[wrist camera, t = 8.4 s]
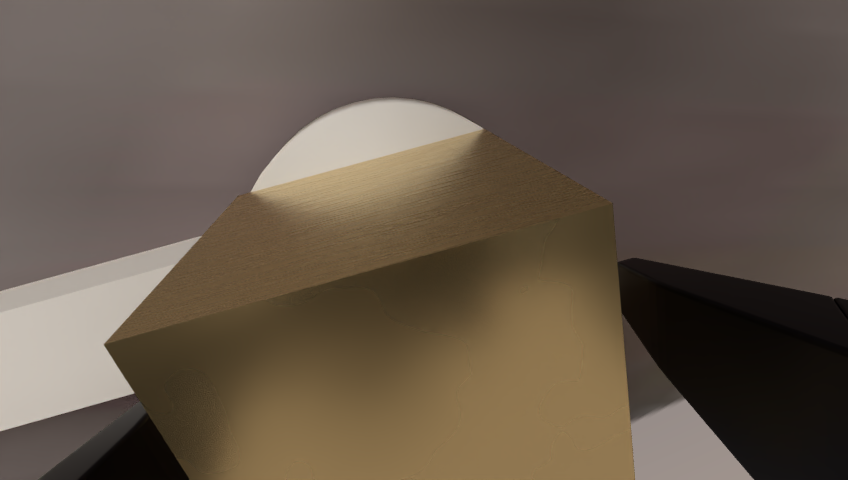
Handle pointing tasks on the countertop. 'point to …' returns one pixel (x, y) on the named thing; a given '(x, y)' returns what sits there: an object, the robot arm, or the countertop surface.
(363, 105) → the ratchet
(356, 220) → the tan cardboard cube
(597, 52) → the countertop surface
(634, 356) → the countertop surface
